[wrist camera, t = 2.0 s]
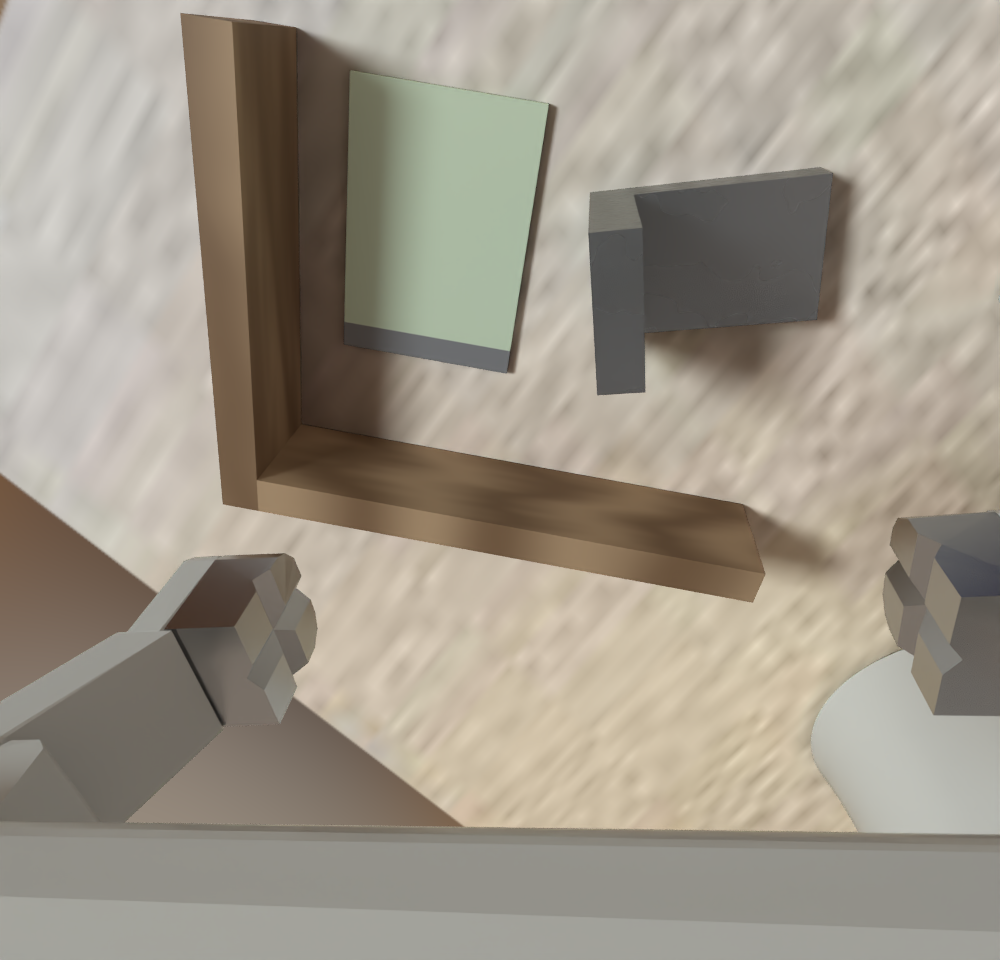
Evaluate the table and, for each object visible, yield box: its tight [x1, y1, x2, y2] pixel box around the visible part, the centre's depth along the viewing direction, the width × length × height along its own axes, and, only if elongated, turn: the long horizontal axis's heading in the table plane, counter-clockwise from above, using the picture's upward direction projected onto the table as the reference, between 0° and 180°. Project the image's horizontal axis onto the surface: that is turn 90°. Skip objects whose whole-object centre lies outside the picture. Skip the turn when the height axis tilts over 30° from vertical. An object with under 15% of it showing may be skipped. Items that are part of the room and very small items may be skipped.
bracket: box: [588, 167, 833, 395], centre depth 23 cm, size 8×5×7 cm, turn 97°
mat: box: [344, 71, 549, 373], centre depth 27 cm, size 7×10×1 cm
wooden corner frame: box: [181, 13, 765, 602], centre depth 26 cm, size 22×17×5 cm
